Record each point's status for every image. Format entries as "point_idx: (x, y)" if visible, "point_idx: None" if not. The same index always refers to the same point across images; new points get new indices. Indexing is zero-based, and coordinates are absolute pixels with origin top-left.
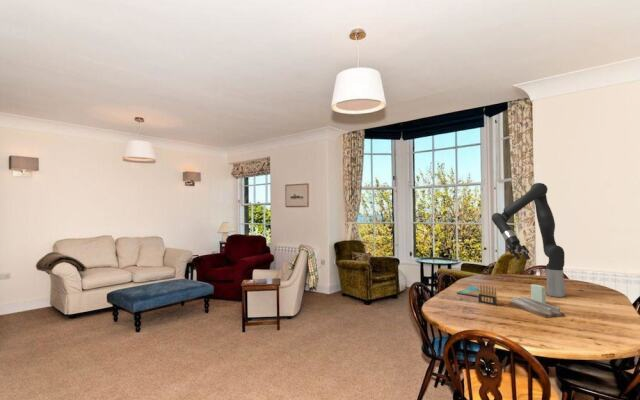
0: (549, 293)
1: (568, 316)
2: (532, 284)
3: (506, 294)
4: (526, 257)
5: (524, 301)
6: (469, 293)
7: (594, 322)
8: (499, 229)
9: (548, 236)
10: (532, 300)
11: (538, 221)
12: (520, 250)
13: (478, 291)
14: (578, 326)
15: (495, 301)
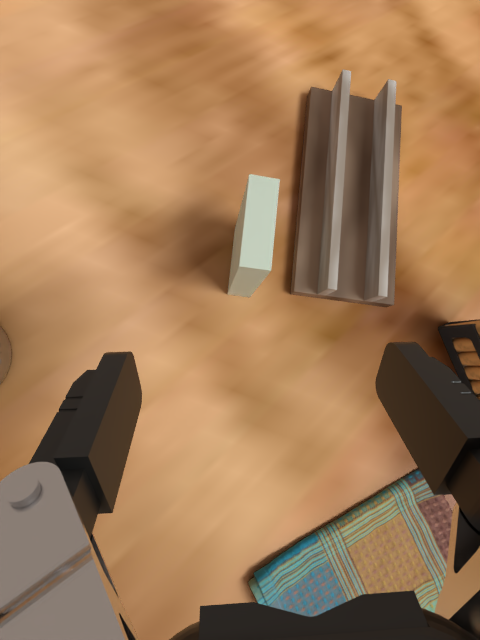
0: (2, 363)
1: (296, 87)
2: (259, 266)
3: (227, 491)
4: (126, 429)
5: (388, 219)
6: (443, 562)
7: (277, 7)
8: None
9: None
10: (340, 212)
11: None
12: (263, 610)
13: (357, 596)
14: (371, 11)
15: (466, 321)
